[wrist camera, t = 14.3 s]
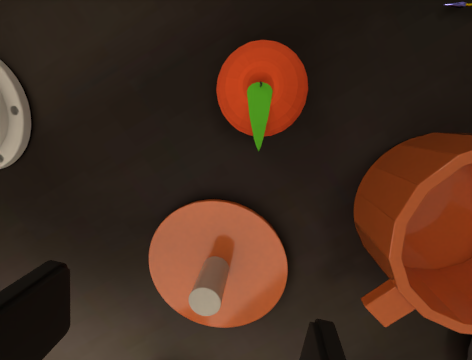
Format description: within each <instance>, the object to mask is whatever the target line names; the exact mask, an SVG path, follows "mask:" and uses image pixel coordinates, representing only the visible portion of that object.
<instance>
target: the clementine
mask: <svg viewBox="0 0 472 360" xmlns="http://www.w3.org/2000/svg"><path fill="white" fill-rule="evenodd" d="M216 91H217V98H218V103H219V106H220V108H221V111H222V113H223V115H224V116H225V118H226V119H227V120H228V122H229V123H230V124H231V125H232V126H233V127H235V128H236V129H237V130H238V131H241V132H243V133H245V134H247V135H251V136H254V141H255V144H256V147H257V149H258V151H259V150H260V147H261V144H262V141H263V137H264V136H272V135H274V134H277V133H279V132H282V131H283V130H285V129H286V128H288V127H289V126H290V125H292V124H293V122H294V121H295V120H296V119H297V118H298V116H299V115H300V113H301V111H302V109H303V107H304V105H305V102H306V97H307V92H308V80H307V74H306V71H305V68H304V65H303V64H302V62H301V61H300V59H299V58H298V56H297V55H296V54H295V53H294V52H293V51H292V50H291V49H290V48H288V47H287V46H285V45H283V44H281V43H278V42H276V41H270V40H258V41H252V42H249V43H247V44H245V45H243V46H241V47H239V48H238V49H236V50H235V51H234V52H233V53H232V54H231V55H229V57H228V58H227V60H226V61H225V63H224V64H223V66H222V68H221V71H220V73H219V76H218V81H217V89H216Z"/></svg>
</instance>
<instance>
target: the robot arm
mask: <svg viewBox="0 0 472 360" xmlns="http://www.w3.org/2000/svg"><path fill="white" fill-rule="evenodd" d="M30 132H31V113H30V108H29V104H28V100H27V98H26V95H25V92H24V90H23V88H22V86H21V84H20V83H19V81H18V79H17V77H16V76H15V75H14V74H13V72H12V71H11V70H10V69H9V67H8V66H7V65H6V64H5V63H3V62H2V61H1V60H0V169H2V168H5V167H8V166H9V165H11V164H13V163H14V162H16V160H17V159H18V158H19V157H20V156H21V155H22V154H23V152H24V150H25V149H26V147H27V144H28V141H29V138H30ZM69 327H70V270H69V269H68V268H67V265H66V264H65V263H61V262H56V261H52V260H50V261H47V262H45V263H44V264H42V265H41V266H39V267H37V268H36V269H34V270H33V271H31V272H30V273H28V274H27V275H25V276H23V277H22V278H20V279H19V280H17V281H16V282H14V283H12V284H11V285H9V286H8V287H6V288H5V289H3V290H2V291H0V360H42V359H43V358H44V357H45V356H46V355H47V354H48V353H49V352H50V351H51V350H52V348H53V347H54V346H55V345H56V344H57V343H58V342H59V341H60V340H61V339H62V338H63V337H64V336H65V334H66V333H67V331H68V330H69ZM299 360H346V358H345V355H344V352H343V349H342V346H341V343H340V340H339V337H338V334H337V331H336V328H335V325H334V323H333V322H330V321H325V320H321V319H316V320H315V323H314V322H310V324H309V327H308V331H307V334H306V338H305V341H304V345H303V349H302V352H301V356H300V359H299Z"/></svg>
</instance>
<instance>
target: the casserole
mask: <svg viewBox="0 0 472 360" xmlns="http://www.w3.org/2000/svg"><path fill="white" fill-rule="evenodd" d="M467 360H472V339H471V342H470V345H469V348H468V359H467Z"/></svg>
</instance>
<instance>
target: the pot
mask: <svg viewBox="0 0 472 360" xmlns="http://www.w3.org/2000/svg"><path fill="white" fill-rule="evenodd" d="M354 222H355V226H356V230H357V232H358V235H359V237H360V239H361V242H362V244H363V246H364V247H365V248H366V250H367V251H368V252H369V253H370V255H371V256H372V257H373V259H374V260H375V261H376V262H377V264H378V265H379V266H380V268H381V269H382V270H383V271H384V273H385V274H386V275H387V277H388V278H389V280H387V281H386V282H384V283H383V284H381V285H380V286H378V287H377V288H375V289H374V290H372V291H371V292H369V293H368V294H366V295H365V296H363V297H362V298H361V300H362V302H363V304H364V306H365V308H366V309H367V310H368V311H369V312H370V313H371V314H372V315H373V316H374V317H375V318H376V319H377V320H378V321H379V322H380V323H381V324H382V325H383V326H384V327H387V326H389V325H390V324H392V323H394V322H395V321H397V320H399V319H400V318H402V317H404V316H405V315H407V314H408V313H410V312H412V311H413V310H415V309H416V310H417V311H418V312H419V313H420V314H421V315H422V316H423V317H425V318H427V319H429V320H431V321H433V322H436V323H438V324H440V325H442V326H445V327H447V328H449V329H451V330H454V331H456V332H458V333H462V334H472V133H430V134H426V135H422V136H418V137H415V138H412V139H409V140H407V141H404V142H402V143H400V144H398V145H397V146H395V147H393V148H392V149H390V150H389V151H387V152H386V153H385V154H383V155H382V156H381V157H380V158H379V159H378V160H377V161H376V162H375V163H374V164H373V165H372V166H371V167H370V168H369V170H368V171H367V173H366V174H365V176H364V177H363V179H362V181H361V183H360V185H359V187H358V190H357V193H356V197H355V202H354Z"/></svg>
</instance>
